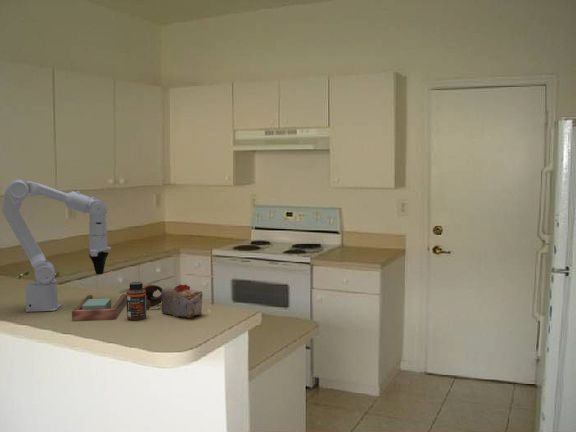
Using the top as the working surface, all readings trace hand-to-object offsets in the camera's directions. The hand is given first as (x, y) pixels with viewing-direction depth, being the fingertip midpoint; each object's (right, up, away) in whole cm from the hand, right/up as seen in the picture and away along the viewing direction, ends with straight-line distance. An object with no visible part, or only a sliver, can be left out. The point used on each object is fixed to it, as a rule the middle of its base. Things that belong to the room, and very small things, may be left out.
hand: (99, 273), depth 200 cm
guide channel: (+4, -11, -9) cm, 15 cm away
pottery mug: (+17, -11, -3) cm, 21 cm away
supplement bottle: (+18, -12, -18) cm, 28 cm away
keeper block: (+4, -12, -14) cm, 19 cm away
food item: (+31, -12, -15) cm, 37 cm away
